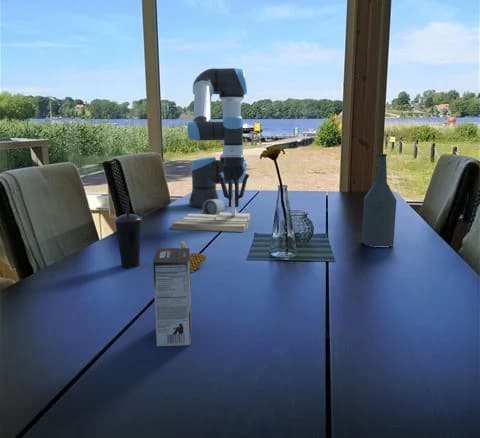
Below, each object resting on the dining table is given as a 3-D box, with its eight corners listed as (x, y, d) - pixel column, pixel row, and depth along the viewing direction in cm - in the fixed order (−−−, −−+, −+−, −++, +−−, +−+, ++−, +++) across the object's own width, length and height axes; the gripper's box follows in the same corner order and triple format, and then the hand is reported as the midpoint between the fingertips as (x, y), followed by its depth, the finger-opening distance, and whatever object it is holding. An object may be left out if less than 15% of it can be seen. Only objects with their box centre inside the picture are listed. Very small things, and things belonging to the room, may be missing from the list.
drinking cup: (149, 262, 131) (146, 194, 127) (135, 270, 124) (131, 198, 120) (126, 260, 134) (122, 193, 130) (111, 268, 127) (106, 197, 123)
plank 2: (220, 216, 188) (220, 212, 187) (250, 217, 186) (249, 213, 185) (215, 224, 180) (215, 219, 180) (246, 226, 178) (245, 221, 177)
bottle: (394, 249, 145) (401, 154, 139) (363, 247, 147) (368, 154, 141) (390, 241, 155) (396, 152, 148) (361, 239, 157) (365, 152, 150)
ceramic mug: (226, 214, 200) (226, 197, 199) (217, 218, 193) (216, 200, 192) (205, 213, 205) (205, 196, 204) (196, 216, 198) (195, 199, 196)
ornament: (207, 255, 122) (197, 231, 135) (169, 266, 120) (162, 241, 133) (212, 276, 125) (201, 250, 138) (175, 287, 123) (168, 260, 136)
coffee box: (159, 325, 91) (156, 247, 87) (192, 324, 91) (190, 246, 88) (155, 347, 82) (151, 261, 78) (191, 345, 82) (188, 260, 79)
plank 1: (189, 218, 191) (189, 213, 190) (218, 219, 189) (217, 214, 188) (182, 223, 183) (182, 218, 182) (212, 224, 180) (212, 219, 180)
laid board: (180, 223, 183) (179, 218, 182) (248, 226, 177) (248, 221, 177) (172, 228, 174) (172, 223, 173) (243, 231, 168) (243, 226, 168)
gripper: (214, 156, 176) (215, 216, 180) (248, 157, 173) (248, 217, 178) (219, 155, 183) (220, 212, 187) (251, 155, 180) (251, 213, 185)
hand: (233, 215), depth 183 cm, fingers closed
